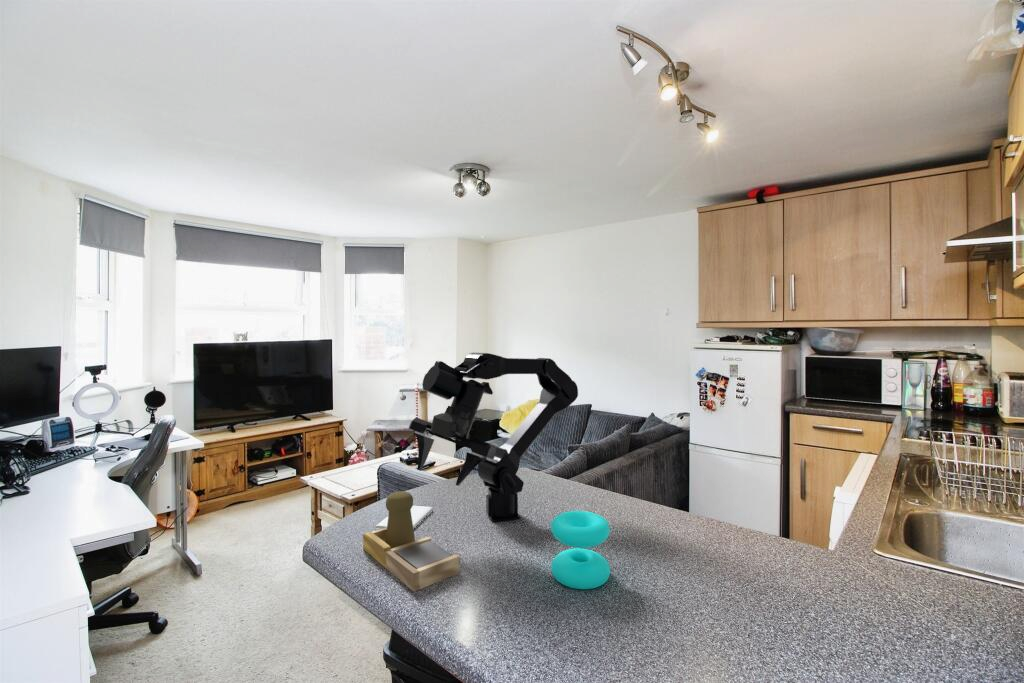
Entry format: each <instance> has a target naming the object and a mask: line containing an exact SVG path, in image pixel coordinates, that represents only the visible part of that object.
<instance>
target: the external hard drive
mask: <svg viewBox="0 0 1024 683" xmlns="http://www.w3.org/2000/svg"><path fill="white" fill-rule="evenodd" d="M410 510H411V517H412V523H413V529H414V528H415V526H417V525H418V523H420V521H422V520H423V519H424V518H425V517H426V516H427V515H428V514H429V513H430V512H431V511H432V510H434V508H433V507H432V506H422V505H413V506H412V508H411V509H410ZM431 513H432V512H431ZM431 513H430V514H431ZM430 514H429V515H430ZM429 515H428V516H429ZM428 516H427V517H428ZM427 517H426V518H427ZM426 518H425V519H426ZM425 519H424V520H425ZM424 520H423V521H424ZM423 521H422V522H423ZM387 524H388V516H386V517H385V518H384V519H383V520H381V521H380V522H379V523H378V524H376V525H375V528H380V529H382V528H385V527H387ZM420 524H421V523H420ZM418 526H419V525H418ZM418 526H417V527H418ZM415 529H416V528H415ZM415 529H414V530H415Z"/></svg>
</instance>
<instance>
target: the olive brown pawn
mask: <svg viewBox="0 0 1024 683" xmlns="http://www.w3.org/2000/svg"><path fill="white" fill-rule="evenodd" d="M412 506H414V497H413V495H412V493H411V492H409V491H405V490H404V491H401V490H399V491H394V492H392V493H389V494H388V496H387V497H386V500H385V508H386V510H387V511H388V524H387V532H386V541H385V543H387V544H388V545H389V546H390V549H392V548H395V547H398V546H401V545H404V544H407V543H410V542H413V541H416V537H415V531H414V530H415V529H414V530H413V523H412V517H411V510H410V509H411V508H412Z"/></svg>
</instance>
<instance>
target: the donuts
mask: <svg viewBox="0 0 1024 683" xmlns="http://www.w3.org/2000/svg"><path fill="white" fill-rule="evenodd" d="M550 531H551V533H552V535H553V537H554V538H555V539H556V540H557V541H559V542H560V543H562V544H564V545H566V546H569V547H573V548H568V549H566V550H563V551H560V552H559V553H558V554H557V555H556V556H554V558H553V559H552V562H551V567H550V568H551V569H550V570H551V572H552V575H553V578H555V580H556V581H557V582H559V583H560V584H562V585H563V586H566V587H568V588H571V589H577V590H592V589H595V588H598V587H601V586H602V585H604V584H605V583H606V582H608V580H609V578H610V575H611V567H610V564H609V562H608V560H607V559H606V558H605V557H604V556H603V555H602V554H600V553H598V552H596V551H594V550H591V549H588V548H592V547H597V546H600V545H602V544H603V543H604V542H605V541H606V540H607V539H608V538H609V536H610V533H611V528H610V525H609V522H608V521H607V520H606V518H605V517H603V516H601V515H599V514H597V513H593V512H591V511H586V510H570V511H566V512H565V511H564V512H562V513H560V514H558V515H556V516H555V517H553V519H552V521H551V524H550Z"/></svg>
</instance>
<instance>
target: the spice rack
mask: <svg viewBox="0 0 1024 683" xmlns="http://www.w3.org/2000/svg"><path fill="white" fill-rule="evenodd" d="M386 532H387V527H385V528H382V529H378V530H372V531H367V532H364V533H362V539H363V540H362V549H363V551H365V552H366V553H367V554H368V555H370V556H371V557H372V558H373V559H374V560H376V561H377V562H378V563H379V564H380V565H382V567H384V568H385V569H386V570H388V571H389V573H391V574H393V575H394V576H395V578H397V579H398V580H399V581H400V582H402V583H403V584H404V585H405V586H406V587H408V588H409V589H410V590H411V591H412V592H417V591H419V590H422V589H424V588H427V587H429V586H432V585H435V584H436V583H437V584H438V582H441V581H444V580H446V579H449V578H450V577H454V576H455V575H459V574H461V560H460V558H461V556H460V555H459V554H457V553H456V554H452V553H450V551H447V550H445V549H444V548H442V547H441V546H440V545H438V544H436V543H435V542H433V541H432V537H430V536H425V537H423V538H420V539H415V541H413V542H410V543H407V544H404V545H401V546H398V547H395V548H392V549H390V546H389V545H388V544H387V543H385V541H386Z"/></svg>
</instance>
